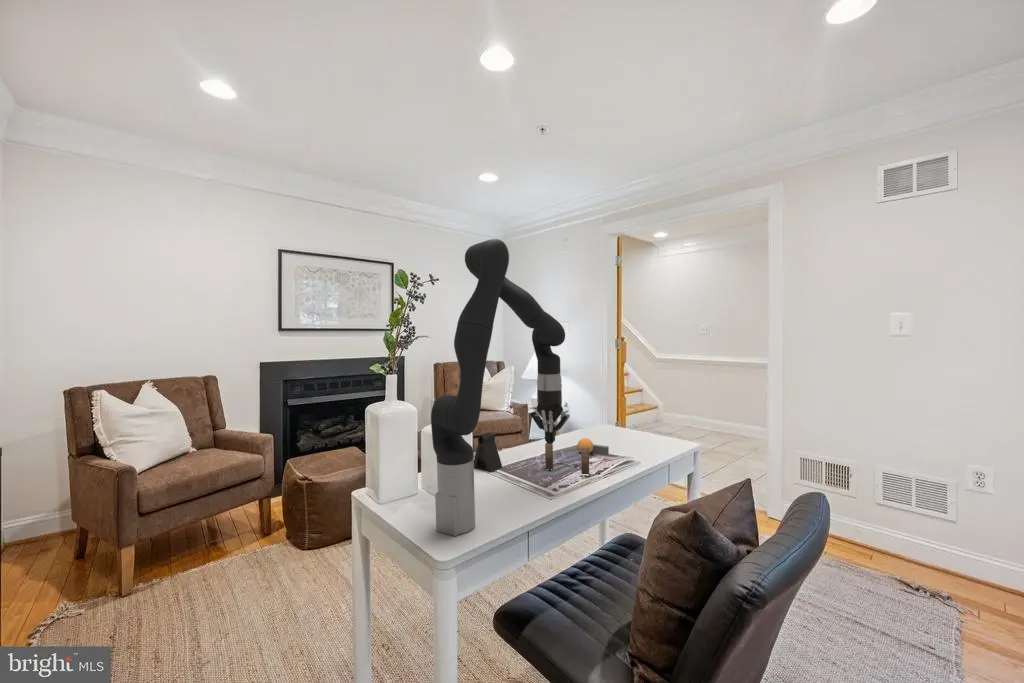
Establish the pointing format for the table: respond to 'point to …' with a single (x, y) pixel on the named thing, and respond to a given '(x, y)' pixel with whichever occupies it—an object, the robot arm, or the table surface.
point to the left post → (549, 456)
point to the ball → (585, 444)
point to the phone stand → (487, 454)
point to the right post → (585, 460)
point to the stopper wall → (599, 449)
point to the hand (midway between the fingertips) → (550, 443)
